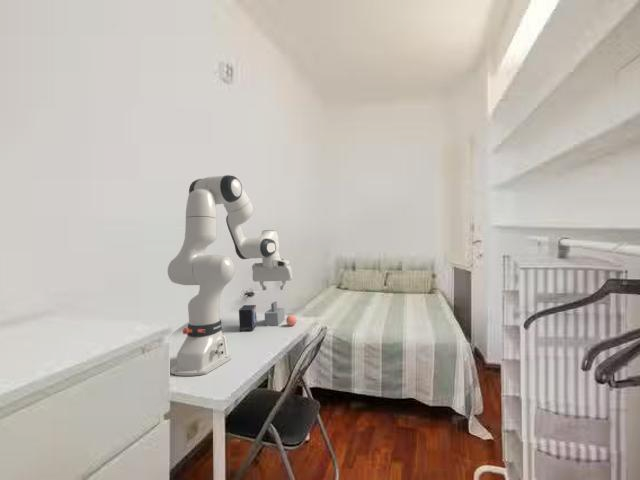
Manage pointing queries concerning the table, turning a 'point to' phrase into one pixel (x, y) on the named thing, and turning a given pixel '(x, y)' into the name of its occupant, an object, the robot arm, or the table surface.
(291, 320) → the ball
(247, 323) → the small box
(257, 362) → the table surface
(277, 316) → the gray hook block
